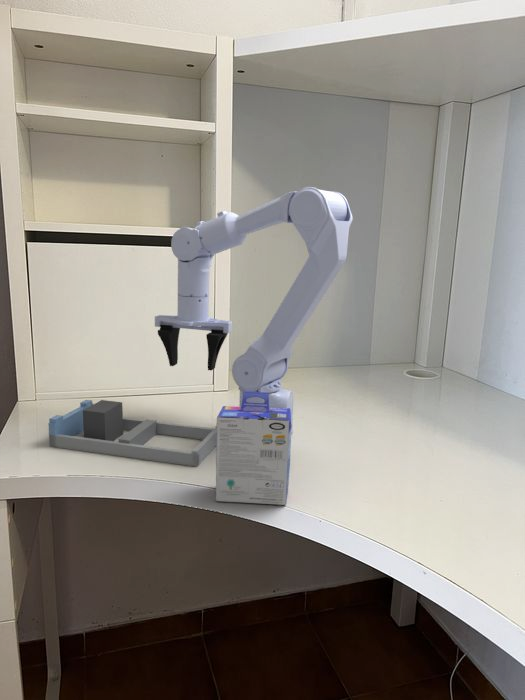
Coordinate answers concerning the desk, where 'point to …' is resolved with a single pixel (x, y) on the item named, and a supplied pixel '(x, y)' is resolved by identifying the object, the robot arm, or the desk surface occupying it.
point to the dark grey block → (103, 420)
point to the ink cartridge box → (253, 452)
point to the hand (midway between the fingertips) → (192, 367)
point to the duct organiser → (132, 438)
